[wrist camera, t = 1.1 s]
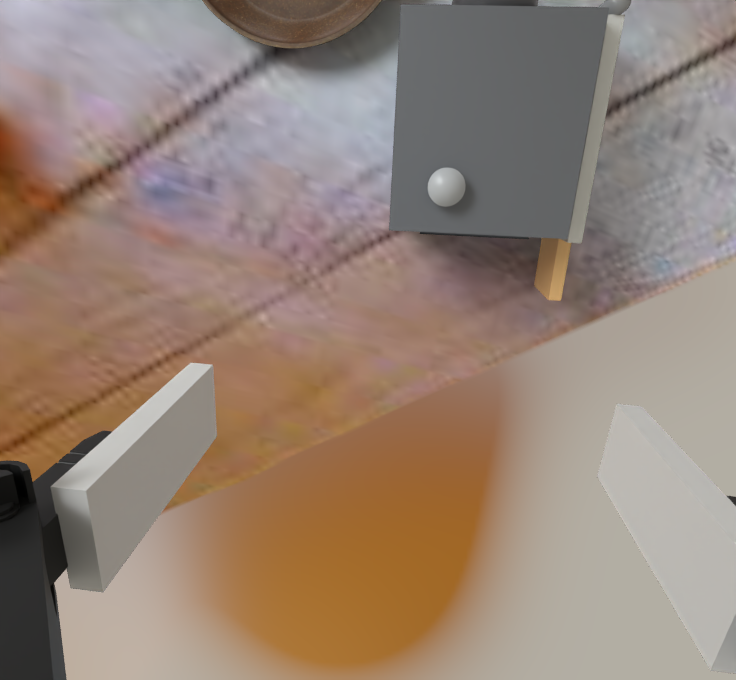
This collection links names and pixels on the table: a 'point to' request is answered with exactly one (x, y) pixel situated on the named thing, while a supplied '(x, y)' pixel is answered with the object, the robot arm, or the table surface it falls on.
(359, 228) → the table surface
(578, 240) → the light grey flat piece
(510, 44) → the grey box with knob
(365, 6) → the saucer
